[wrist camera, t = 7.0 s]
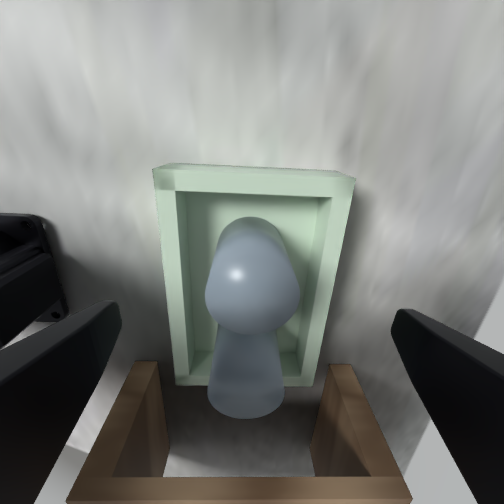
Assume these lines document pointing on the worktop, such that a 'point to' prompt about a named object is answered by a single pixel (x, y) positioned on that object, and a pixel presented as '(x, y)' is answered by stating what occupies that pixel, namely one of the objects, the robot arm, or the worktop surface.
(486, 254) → the worktop surface
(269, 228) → the grey rounded cylinder
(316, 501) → the shelf
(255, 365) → the grey smooth round-ended part
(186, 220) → the tray
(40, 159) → the worktop surface
